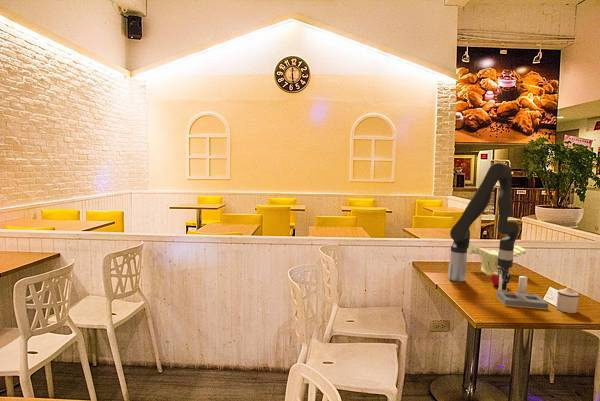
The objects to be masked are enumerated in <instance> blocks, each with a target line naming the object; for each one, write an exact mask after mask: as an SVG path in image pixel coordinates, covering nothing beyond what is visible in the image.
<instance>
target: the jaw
mask: <svg viewBox="0 0 600 401" xmlns="http://www.w3.org/2000/svg"><path fill="white" fill-rule="evenodd" d="M503 277H504V276H503ZM505 281H506V280H505ZM507 289H508V287H507V288H506V290H502V278H501V275H500V278H499V286H498V288H497V291H502V292H508V290H507Z"/></svg>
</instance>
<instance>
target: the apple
mask: <svg viewBox="0 0 600 401" xmlns="http://www.w3.org/2000/svg"><path fill="white" fill-rule="evenodd" d="M490 280H491V283H492V284H493V286H495V287H499V278H498V272H494V273H492V275H491V276H490Z"/></svg>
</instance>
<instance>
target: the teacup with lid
mask: <svg viewBox="0 0 600 401" xmlns="http://www.w3.org/2000/svg"><path fill="white" fill-rule="evenodd" d="M556 297H557V298H556V306H555V307H556V310H558V311H559V312H563V313H566V312H567V313H566V314H576V313H577V312H578V308H579V307H578V305H579V297H580V294H579V292H577V291H575V290H573V289H572V287H570V286H567V287H566V288H563V289H558V290H557V296H556Z"/></svg>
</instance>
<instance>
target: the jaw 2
mask: <svg viewBox="0 0 600 401" xmlns="http://www.w3.org/2000/svg"><path fill="white" fill-rule="evenodd" d="M527 288H528V277H527V276H524V275H519V276H518V286H517V291H516V293H525V294H528V292H527Z"/></svg>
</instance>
